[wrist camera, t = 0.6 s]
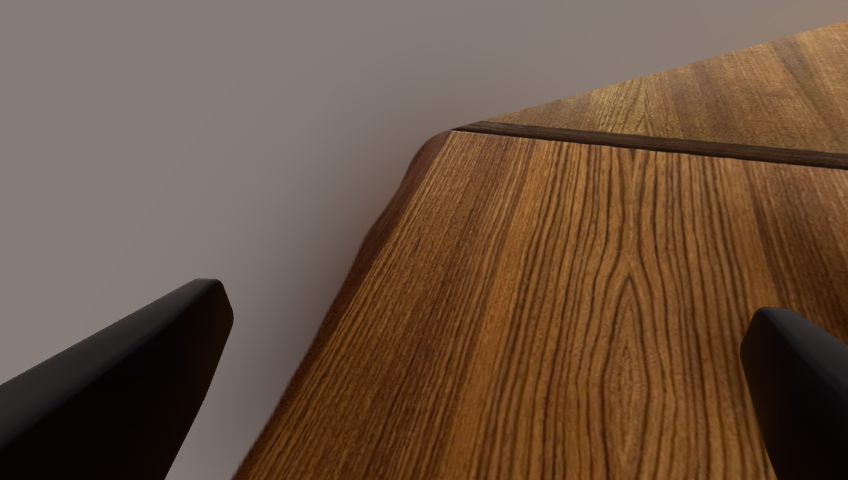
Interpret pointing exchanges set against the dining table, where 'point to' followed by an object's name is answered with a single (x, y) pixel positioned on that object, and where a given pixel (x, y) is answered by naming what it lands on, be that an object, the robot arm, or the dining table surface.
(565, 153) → the dining table surface
